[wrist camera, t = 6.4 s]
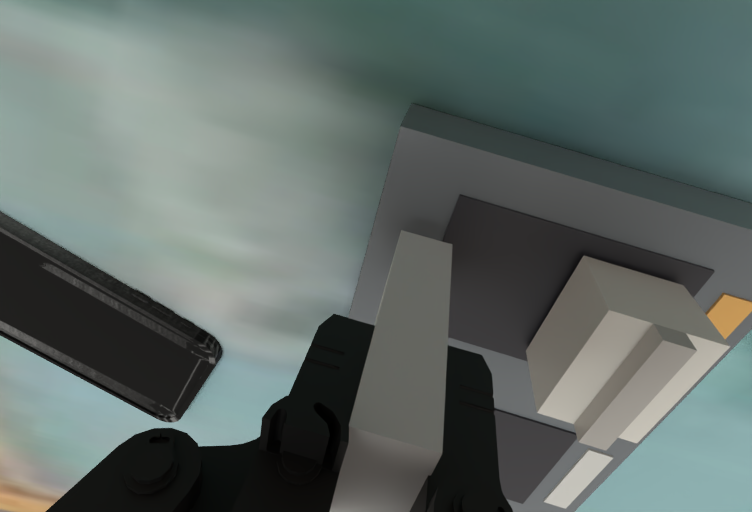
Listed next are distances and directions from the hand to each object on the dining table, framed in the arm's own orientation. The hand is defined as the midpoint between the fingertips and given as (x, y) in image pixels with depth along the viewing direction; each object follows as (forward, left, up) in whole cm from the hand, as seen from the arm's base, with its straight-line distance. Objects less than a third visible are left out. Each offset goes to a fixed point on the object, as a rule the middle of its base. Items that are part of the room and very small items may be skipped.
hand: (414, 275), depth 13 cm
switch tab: (0, +6, -1) cm, 6 cm away
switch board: (+8, +4, -4) cm, 10 cm away
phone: (+11, -16, -5) cm, 20 cm away
